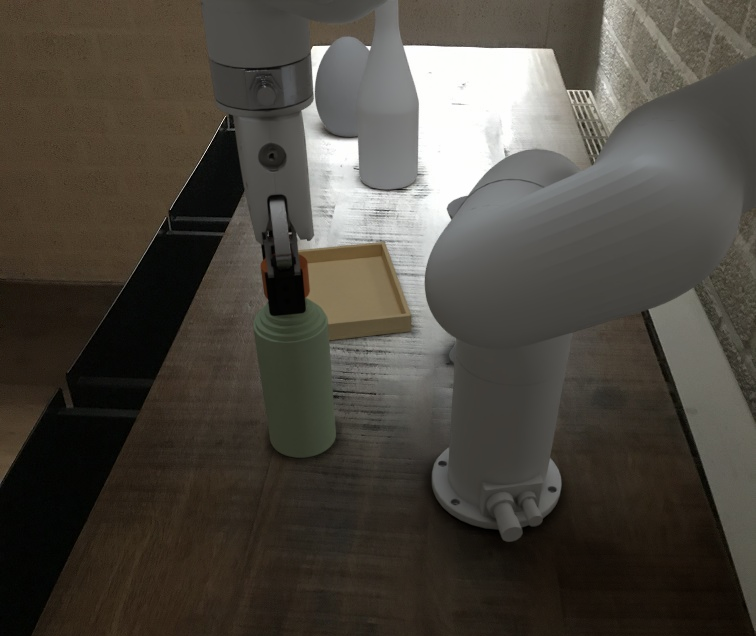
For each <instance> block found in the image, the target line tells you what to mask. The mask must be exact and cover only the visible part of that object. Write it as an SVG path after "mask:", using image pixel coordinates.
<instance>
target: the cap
mask: <svg viewBox="0 0 756 636" xmlns="http://www.w3.org/2000/svg"><path fill="white" fill-rule="evenodd" d="M273 255H275V254H273ZM273 255H272V257H273ZM299 263H300V269H302V271H303V281H304V293H305V298H306V297H307V296H308V295H309V293H310V285H309V274H308V262H307V260H306V258H305V257H303V256H302V255H299ZM260 272H261V280H262V287H263V295H264V298H266V299H267V300H268V296H267V288H266V280H265V272H268V271H267V263H266V258H265V259H264V260H263V259H262V261H261V262H260Z"/></svg>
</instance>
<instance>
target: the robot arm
mask: <svg viewBox="0 0 756 636" xmlns="http://www.w3.org/2000/svg"><path fill="white" fill-rule="evenodd" d="M386 1H388V0H199V2H200V8H201V15H202V23H203V29H204V35H205V36H204V37H205V42H206V49H207V55H208V63H209V69H210V77H211V83H212V84H211V85H212V90H213V98H214V104H215V107H216V108H217V109H218V110H219V111H221V112H223V114H224V113H225V114H227V115H230V116H232V119H233V125H234V131H235V139H236V146H237V147H236V148H237V152H238V153H237V154H238V159H239V160H238V161H239V166H240V172H241V178H242V183H243V184H242V185H243V189H244V194H245V198H246V204H247V208H248V213H249V218H250V221H251V226H252V229H253V230H252V231H253V234H254V237H255V241H256V242H257V243H258V244H260V247H261V256H262V261H263V260H264V259H265V258H266V263H267V271H268V272H265V280H266V288H267V296H268V299H267V303H268V304H269V313H270V315H272V316H281V315H291V314H301V313H304V312H305V311H306V305H305V293H304V281H303V271H302V269H300V263H299V253H298V250H299V244H298V238H299V240H300V241H304V240H305V241H307V242H311V240H313V239H314V236H315V230H314V222H313V221H314V219H313V210H312V198H311V185H310V175H309V163H308V162H309V161H308V152H307V140H306V133H305V125H304V118H303V112H302V111H304V110H305V109H307V108H309V107H310V106H311V105H312V104H313V103H314V101H315V92H314V80H313V77H314V76H313V65H312V64H313V63H312V51H311V46H312V45H311V33H310V32H311V31H310V30H311V29H310V21H312V22H317V23H319V24H326V25H333V26H334V25H335V26H341V25H347V24H351V23H354V22H357V21H359V20H361V19H363V18H365V17H366V16H368V15H370V14H371V13H372V12H375V9H376V8H378V7H379V6H381V5H382V4H384V3H385V2H386ZM466 196H467V197H466V199H465V200H464V201H463V203H462V204H461V206H460V208H459V209H458V211H457V213H456V214H455V216H454V217H453V218H452V220H451V219H450V221H449V222H448V224H447V225H446V226H445V227H444V228H443V230H442V231H441V233H440V235H439V237H437V240H436V242H435V243H434V245H433V247H432V249H431V251H430V252H429V253H430V254H429V256H428V259H427V262H426V267H425V271H424V294H425V298H426V304H427V306H428V308H429V309H428V310H429V311H430V312H431V314H432V317H433V318H434V319H435V321H436V322H437V324H438V325H439V326H440V327H441V328H442V329H443V330H444V331H445V332H446V333H447V334H449V335H450V336H451V337H453V338H455V343H456V348H455V360H454V363H453V376H452V377H453V379H452V394H451V395H452V396H451V412H450V428H449V429H450V430H449V444H448V445H449V446H448V447H447V448H445V449H444V450H443V451H442V452H441V454H440V455H439V456H438V457H437V458H436V460H435V461H434V464H433V466H432V471H431V488H432V492H433V494H434V496H435V499H436V500H437V502H438V503H439V505H440V506H441V508H443V509H444V510H445V511H446V512H448V514H449V515H451V516H453V517H454V518H456V519H458V520H459V521H461V522H463V523H466V524H468V525H471V526H474V527H478V528H482V529H489V530H497V531H499V534H500V537H501V539H502V540H503V541H505V542H506V543H507V542H508V543H510V542H511V543H512V542H516V541H517V540H519V539H520V538H521V537H522V536H523V528H525V527H527V526H530V527H537V526H540V525H541V524H543V521H544V520H543V519H544V518H545V517H546V516H548V515H549V514H550V513H551V512H552V511H553V510H554V509H555V507H556V505H557V504H558V502H559V500H560V497H561V491H562V486H563V485H562V476H561V473H560V470H559V467H558V466H557V464H556V463H555V462H554V461H553V459H552V458H551V454H552V449H553V444H554V439H555V432H556V428H557V421H558V417H559V411H560V410H559V409H560V406H561V399H562V393H563V389H564V383H565V377H566V372H567V367H568V362H569V358H570V351H571V347H572V341H573V336H574V335H573V334H574V333H575V332H580V331H582V330H586V329H589V328H592V327H596V326H599V325H603V324H606V323H610V322H612V321H616V320H620V319H623V318H626V317H629V316H633V315H636V314H640V313H643V312H646V311H649V310H651V309H654V308H657V307H660V306H662V305H665V304H668V303H669V302H672V301H673V300H675V299H677V298H679V297H681V296H682V295H684V294H687V293H688V292H689V291H690V290H692V289H694V288H695V287H697V286H698V285H700V284H701V283H702V282H703V281H704V280H705V279H706V278H708V277H709V276H710V275H711V274H712V273H713V272H714V271H715V270H716V269H717V267H719V265H720V264H721V262H722V261H723V260H724V259H725V257H726V256H727V254H728V252H729V251H730V248H731V246H732V244H733V242H734V241H735V238H736V236H737V232H738V231H739V226H740V222H741V217H742V215H743V214H745V213H747V212H749V211H751V210H753V209H756V54H755V55H753V56H751V57H749V58H746V59H744V60H741V61H739V62H738V63H735V64H733V65H731V66H728V67H726V68H724V69H721V70H719V71H718V72H717V71H716V72H715V73H712V74H710V75H709V76H706V77H704V78H701V79H700V80H697V81H695V82H692V83H690V84H687V85H685V86H683V87H680V88H678V89H675V90H673V91H671V92H669V93H666V94H663V95H661V96H659V97H655V98H653V99H651V100H649V101H647V102H645V103H643V104H642V105H640V106H638V107H636V108H634V109H633V110H631V111H630V112H629V113H627V115H625V116H624V117H623V118H622V120H620V121H619V122H618V123H617V124H616V126H615V127H614V128H613V130H612V131H611V133H610V134H609V136H608V137H607V139H606V141H605V142H604V144H603V146H602V147H601V149H600V151H599V152H598V155H597V157H596V159H595V161H594V163H593V164H591V165H590V166H589V167H587V168H585V169H581V168H580V167H579V165H578V164H576V163H575V162H574V161H573V160H572V159H570V158H568V157H567V156H565V155H563V154H561V153H559V152H556V151H553V150H549V149H542V148H532V149H525V150H520V151H517V152H516V153H512V154H510V155H508V156H506V157H504V158H503V159H500V160H499V161H498V162H497V163H496V164H494V165H493V166H491V168H490V169H488V171H486V172H485V173H484V174H483V176H482V177H480V178H479V180H478V181H477V183H476V184H475V185H474V187H473V188H472V189H471V190H470V192H469V193H468V194H467V195H466ZM273 254H275V255H273ZM272 255H273V257H272Z"/></svg>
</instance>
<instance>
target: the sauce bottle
mask: <svg viewBox="0 0 756 636" xmlns="http://www.w3.org/2000/svg"><path fill="white" fill-rule="evenodd" d="M305 305H306V311H305V312H304V313H301V314H291V315H281V316H272V315H270V313H269V304H268V302H267V303H266V304H264V305H263V307H262V308H260V309H259V310H258V312H257V313H256V315H255V317H254V319H253V322H252V328H253V334H254V342H255V348H256V354H257V361H258V362H257V363H258V368H259V369H258V370H259V375H260V382H261V388H262V394H263V395H262V396H263V401H264V402H263V403H264V408H265V414H266V423H267V428H268V434H269V440H270V444H271V446H272V447H273V449H274V450H276V452H278V453H280V454H281V455H284V456H286V457H290V458H296V459H299V458H300V459H302V458H311V457H315V456H318V455H321V454H322V453H324V452H326V451H327V450H329V449H330V448H331V447H332V445H333V444H334V443H335V441H336V438H337V428H336V427H337V426H336V415H335V413H336V412H335V401H334V388H333V386H334V385H333V373H332V371H333V370H332V359H331V358H332V357H331V347H330V340H329V330H328V318H327V315H326V314H325V312H324V311H323V309H322V308H321V307H320V306H319V305H317V304H315V303H314V302H312V301H311V300H309V299H308V298H305Z"/></svg>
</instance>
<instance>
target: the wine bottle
mask: <svg viewBox="0 0 756 636" xmlns="http://www.w3.org/2000/svg"><path fill="white" fill-rule="evenodd" d="M399 13H400V12H399V0H388V1H386V2H385V3H384V4H382V5H381V6H379V7H378V8H376V9H375V10H374V29H373V37H372V41H371V45H370V49H369V51H370V52H369V56H368V60H367V63H366V67H365V71H364V75H363V78H362V82H361V85H360V89H359V94H358V98H357V127H358V136H357V149H358V151H357V154H358V174H359V178H360V180H361V182H362V183H364V185H366V186H368V187H370V188H373V189H377V190H386V191H387V190H399V189H403V188H405V187H408V186H409V185H411V184H412V183H414V182H415V181H416V179H417V177H418V173H419V131H420V130H419V129H420V127H419V126H420V123H419V122H420V120H419V119H420V116H419V115H420V102H419V101H420V100H419V96H418V92H417V87H416V84H415V81H414V78H413V75H412V70H411V69H410V65H409V61H408V57H407V54H406V51H405V47H404V43H403V40H402V36H401V30H400V19H399V18H400V16H399Z"/></svg>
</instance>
